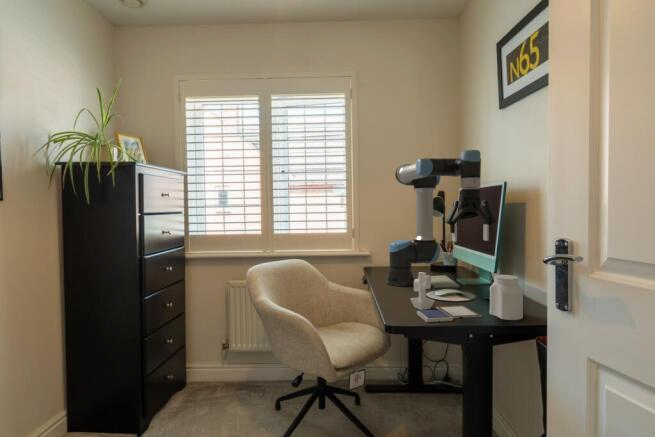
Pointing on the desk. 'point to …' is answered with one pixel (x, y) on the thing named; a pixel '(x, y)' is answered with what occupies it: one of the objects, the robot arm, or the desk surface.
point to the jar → (506, 298)
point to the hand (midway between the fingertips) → (470, 240)
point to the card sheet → (458, 311)
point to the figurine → (422, 292)
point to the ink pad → (434, 315)
